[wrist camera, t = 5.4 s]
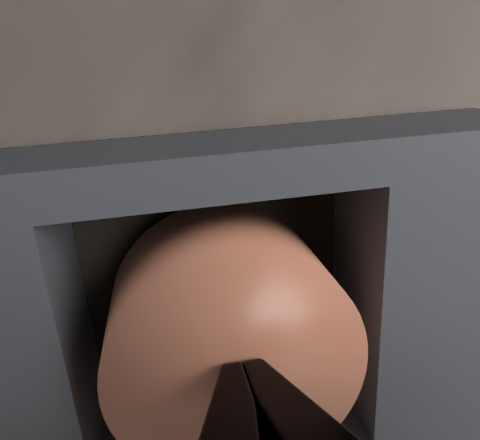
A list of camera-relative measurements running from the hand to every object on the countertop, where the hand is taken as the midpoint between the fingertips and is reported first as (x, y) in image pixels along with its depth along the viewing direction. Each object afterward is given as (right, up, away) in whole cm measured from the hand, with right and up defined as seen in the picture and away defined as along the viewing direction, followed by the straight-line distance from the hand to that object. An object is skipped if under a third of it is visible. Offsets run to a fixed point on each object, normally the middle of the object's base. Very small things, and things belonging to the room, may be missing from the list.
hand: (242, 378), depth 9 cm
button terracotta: (-1, +1, +3) cm, 3 cm away
